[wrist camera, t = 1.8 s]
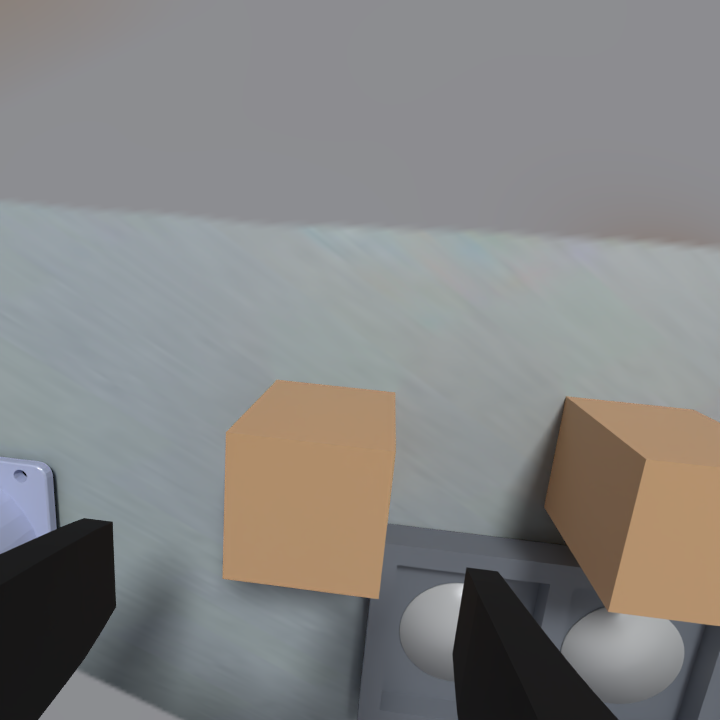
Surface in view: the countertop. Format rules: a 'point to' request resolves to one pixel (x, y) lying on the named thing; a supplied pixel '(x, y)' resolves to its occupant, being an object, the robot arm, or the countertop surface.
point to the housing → (550, 610)
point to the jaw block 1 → (310, 488)
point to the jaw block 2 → (641, 506)
